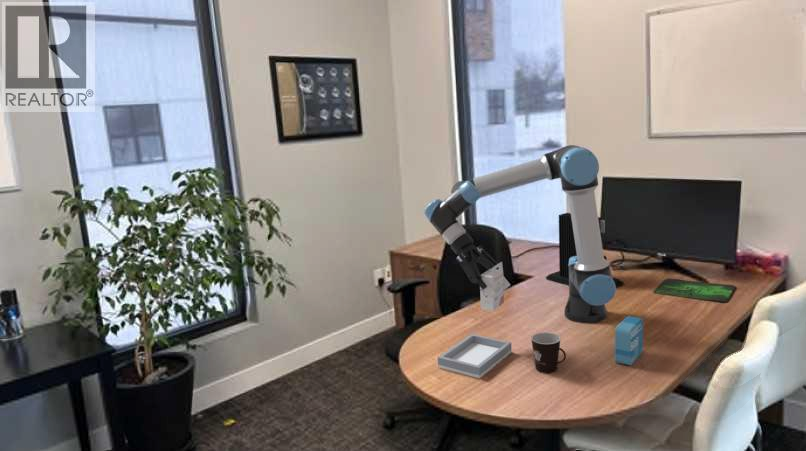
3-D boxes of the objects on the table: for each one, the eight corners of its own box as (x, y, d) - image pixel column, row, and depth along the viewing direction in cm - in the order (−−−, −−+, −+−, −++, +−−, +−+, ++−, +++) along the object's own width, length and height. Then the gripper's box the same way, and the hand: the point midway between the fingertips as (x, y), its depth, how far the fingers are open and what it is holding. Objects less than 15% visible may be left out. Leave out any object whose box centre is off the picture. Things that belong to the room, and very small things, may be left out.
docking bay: (511, 352, 188) (511, 342, 188) (479, 378, 172) (479, 367, 172) (472, 343, 198) (471, 333, 197) (438, 367, 181) (437, 357, 181)
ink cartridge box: (490, 301, 196) (489, 259, 193) (504, 303, 194) (503, 261, 190) (479, 309, 189) (478, 266, 186) (493, 311, 187) (492, 268, 183)
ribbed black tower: (627, 284, 246) (627, 215, 240) (599, 294, 236) (599, 223, 230) (570, 270, 271) (569, 208, 265) (543, 279, 261) (541, 214, 255)
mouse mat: (651, 294, 233) (651, 291, 233) (665, 279, 250) (665, 276, 250) (727, 304, 216) (727, 302, 216) (736, 287, 233) (736, 285, 233)
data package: (629, 367, 173) (630, 330, 170) (614, 363, 176) (614, 327, 173) (642, 352, 182) (643, 317, 179) (628, 349, 184) (628, 314, 182)
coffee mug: (528, 363, 179) (527, 334, 177) (555, 361, 180) (554, 331, 178) (540, 381, 168) (539, 349, 166) (568, 378, 169) (568, 346, 167)
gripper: (468, 238, 205) (509, 288, 199) (433, 253, 189) (476, 307, 182) (481, 225, 201) (523, 276, 194) (446, 239, 184) (490, 294, 178)
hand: (500, 291), depth 188 cm, fingers closed on ink cartridge box, 9 cm apart
